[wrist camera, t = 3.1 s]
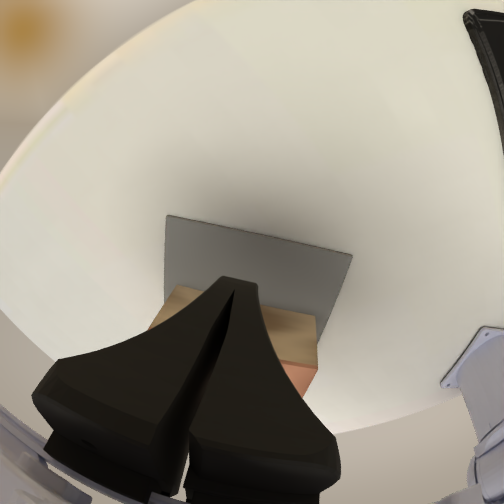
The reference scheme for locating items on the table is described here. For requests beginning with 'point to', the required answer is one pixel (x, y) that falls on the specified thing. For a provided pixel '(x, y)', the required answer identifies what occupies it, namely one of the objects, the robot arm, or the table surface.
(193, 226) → the rubber mat
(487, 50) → the phone
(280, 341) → the oak block
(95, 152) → the table surface
